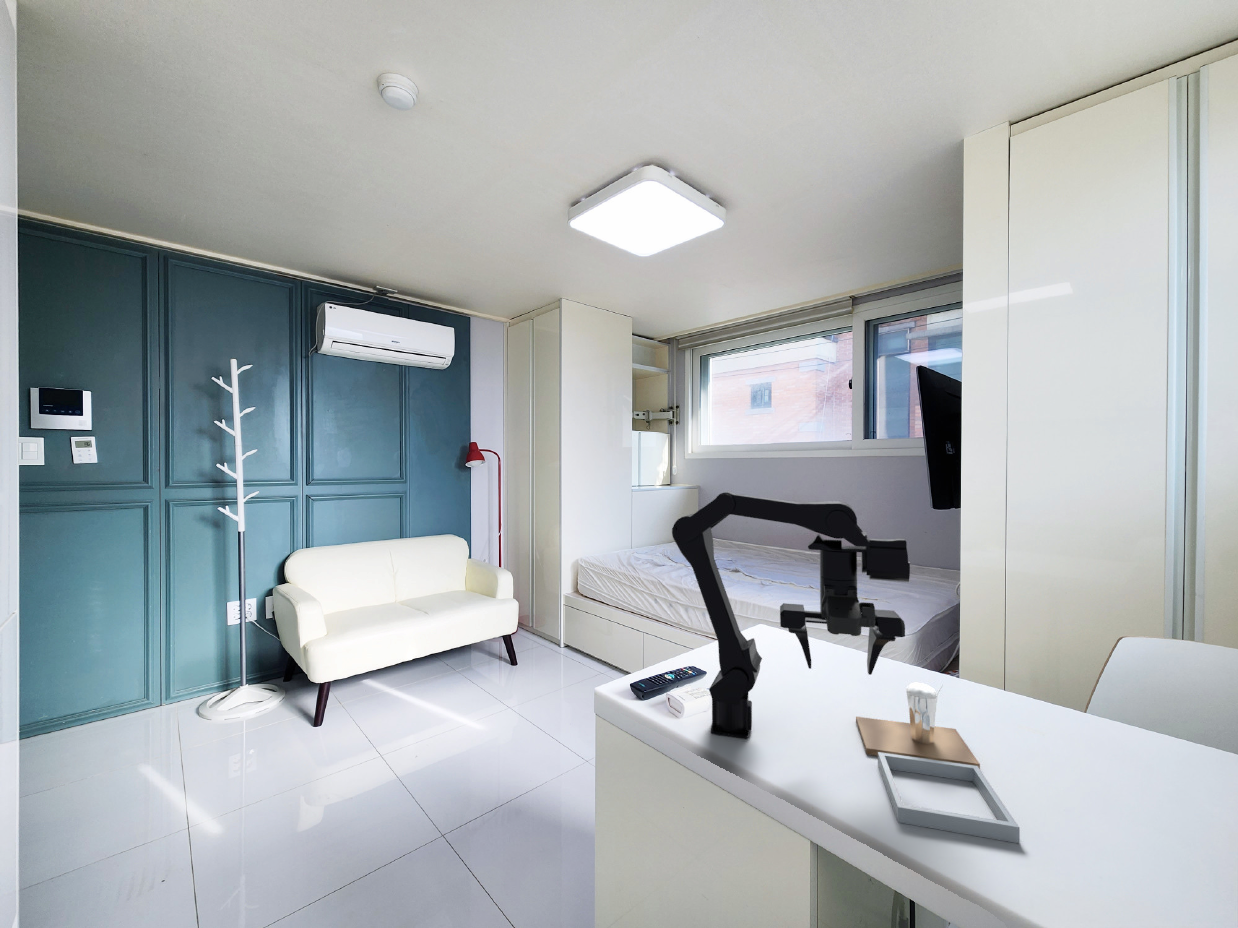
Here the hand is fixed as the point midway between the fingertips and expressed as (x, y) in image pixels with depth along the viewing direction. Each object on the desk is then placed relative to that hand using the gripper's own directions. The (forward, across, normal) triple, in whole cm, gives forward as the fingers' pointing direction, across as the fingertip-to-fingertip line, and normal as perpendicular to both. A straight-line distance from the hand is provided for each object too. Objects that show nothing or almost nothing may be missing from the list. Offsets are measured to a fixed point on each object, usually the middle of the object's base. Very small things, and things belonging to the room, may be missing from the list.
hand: (839, 670), depth 85 cm
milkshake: (+12, +14, +5) cm, 19 cm away
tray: (+13, +12, -10) cm, 20 cm away
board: (+13, +12, +5) cm, 18 cm away
